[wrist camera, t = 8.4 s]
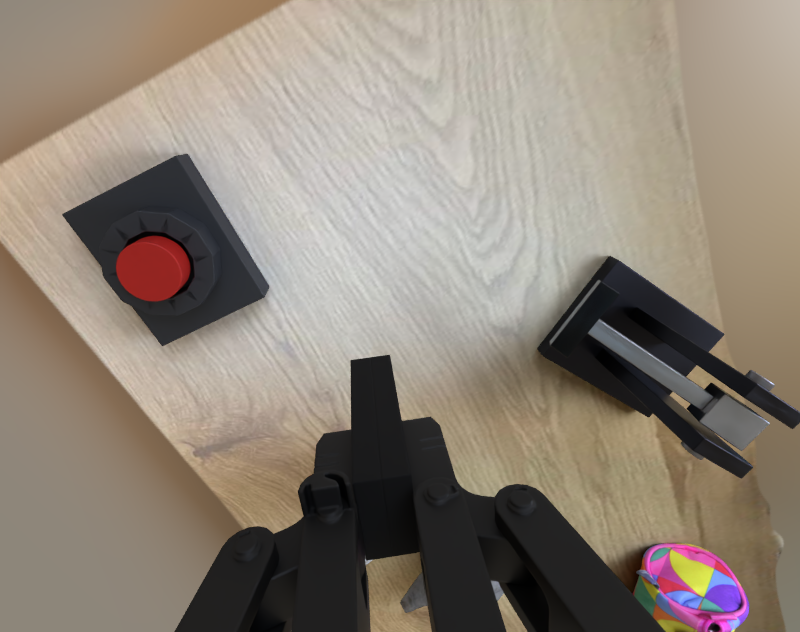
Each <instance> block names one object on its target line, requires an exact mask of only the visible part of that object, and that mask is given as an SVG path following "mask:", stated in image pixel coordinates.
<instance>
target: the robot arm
mask: <svg viewBox="0 0 800 632" xmlns="http://www.w3.org/2000/svg"><path fill="white" fill-rule="evenodd" d="M315 457H316V458H315V465H314V466H315V468H314V474H312V475H311V476H309V477H307V478H306V479H305V480H304V481H303V482H302V484H301V485H300V488H299V490H298V495H299V499H300V503H301V507H302V511H303V515H304V516H303V518H302V519H301V520H299V521H298V522H297V523H296V524H294V525H292V526H290V527H289V528H287V529H284V530H282V531H280V532H277V533H275V534H273V533H272V532H271V531H270V530H268V529H267V528H264V527H259V526H257V527H249V528H246V529H244V530H241V531H239V532H237V533H236V534H235V535H233V536H232V537H231V538H229V539H228V540H227V542H226V543H225V544H224V545H223V547H222V548H221V550H220V552H219V554H218V555H217V557H216V559H215V561H214V563H213V564H212V566H211V568H210V570H209V572H208V573H207V575H206V577H205V579H204V580H203V582H202V584H201V586H200V587H199V589H198V591H197V593H196V595H195V596H194V598H193V600H192V602H191V603H190V605H189V607H188V609H187V611H186V612H185V614H184V616H183V618H182V619H181V621H180V623H179V625H178V627H177V628H176V630H175V632H371V631H370V610H369V588H368V576H367V571H366V564H365V557H366V561H368V560H374V559H380V558H386V557H392V556H399V555H405V554H411V553H417V552H420V558H421V566H422V574H423V583H424V590H425V592H426V598H427V604H428V610H429V617H430V623H431V629H432V632H506V629H505V625H504V622H503V619H502V616H501V612H500V609H499V606H498V603H497V599H496V596H495V593H494V590H493V586H492V583H491V581H497V582H499V585H500V587H501V589H502V590H503V592H504V594H505V595H506V597H507V598H508V600H509V602H510V603H511V605H512V607H513V608H514V610H515V612H516V613H517V615H518V616H519V618H520V620H521V621H522V623H523V625H524V626H525V628H526V629H527V631H528V632H666V631H665V630H664V629H663V628H662V627H661V626H660V624H659V623H658V622H657V621H656V620H655V619H654V618H653V617H652V616H651V614H650V613H649V612H648V611H647V610H646V609H645V608H644V607H643V605H642V604H641V603H640V602H639V601H638V600H637V599H636V598H635V596H634V595H633V594H632V593H631V592H630V591H629V590H628V589H627V587H626V586H625V585H624V584H623V583H622V582H621V581H620V580H619V578H618V577H617V576H616V575H615V574H614V573H613V572H612V571H611V570H610V568H609V567H608V566H607V565H606V564H605V563H604V562H603V561H602V559H601V558H600V557H599V556H598V555H597V554H596V553H595V552H594V550H593V549H592V548H591V547H590V546H589V545H588V544H587V543H586V541H585V540H584V539H583V538H582V537H581V536H580V535H579V534H578V533H577V531H576V530H575V529H574V528H573V527H572V526H571V525H570V524H569V522H568V521H567V520H566V519H565V518H564V517H563V516H562V515H561V513H560V512H559V511H558V510H557V509H556V508H555V507H554V506H553V504H552V503H551V502H550V501H549V500H548V499H547V498H546V497H545V495H544V494H542V493H541V492H540V491H538V490H537V489H536V488H533V487H531V486H528V485H521V484H514V485H509V486H506V487H504V488H502V489H501V490H499V492H498V493H497V495H496V496H495V497H487V496H480V495H475V494H472V493H470V492H468V491H466V490H465V489H463V488H462V487H461V486H460V485H459V484H458V482H457V480H456V478H455V474H454V471H453V468H452V464H451V461H450V458H449V454H448V451H447V448H446V444H445V441H444V438H443V435H442V431H441V428H440V425H439V424H438V423H437V422H436V421H435V420H434V419H432V418H431V417H426V418H419V419H413V420H406V421H402V420H401V415H400V409H399V403H398V398H397V392H396V387H395V381H394V375H393V370H392V364H391V358H390V355H385V356H377V357H370V358H363V359H356V360H351V430H345V431H339V432H332V433H325V434H323V436H322V437H321V439H320V440H319V442H318V443H317V445H316V455H315Z"/></svg>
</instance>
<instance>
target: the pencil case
mask: <svg viewBox="0 0 800 632" xmlns="http://www.w3.org/2000/svg"><path fill="white" fill-rule="evenodd" d="M636 573H637V574H639V578H638V581H637V584H636V586H635V589H634V592H633V595H634V596H635V598H636V599H637V600H638V601H639V602H640V603H641V604H642V605H643V607H644V608H645V609H646V610H647V611H648V612H649V613H650V614H651V616H652V617H653V618H654V619H655V620H656V621H657V622H658V623H659V624H660V626H661V627H662V628H663V629H664V630H665V631H666V632H734V631H735V629H736V628H737V627H738V626H739V625H740V624H741V623H743V621H744V620H745V619H746V617H747V615H748V612H749V602H748V599H747V596H746V594H745V592H744V590H743V588H742V586H741V585H740V583H739V581H738V580H737V578H736V576H735V575H734V573H733V572H732V571H731V569H730V568H729V567H728V566H727V565H726V563H724V562H723V561H722V560H721V559H720V558H719V557H718V556H716V555H715V554H713V553H711V552H710V551H708V550H706V549H703V548H701V547H698V546H695V545H691V544H678V543H663V544H657V545H654V546H652V547H650V548H649V549H648V550H647V551H646V552H645V554H644V556H643V559H642V566H641V569H640V570H638V571H637V572H636Z"/></svg>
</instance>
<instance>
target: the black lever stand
mask: <svg viewBox="0 0 800 632" xmlns="http://www.w3.org/2000/svg"><path fill="white" fill-rule="evenodd" d="M598 280H600V281H602V282H603V283H605V284H606V285H608V286H609V287H611V288H612V289H614V290H616V291H617V292H619V295H618V296H617V298H616V299H615V300H614V301H613V303H612V304H611V305H610V306H609V308H608V309H607V310H606V311H605V312H604V314H603V315H602V316H601V317H600V319H601V320H602V321H604V322H605V323H607V324H608V325H610V326H611V327H613V328H614V329H615V330H617V331H618V332H620V333H621V334H623V335H624V336H626V337H627V338H629V339H630V340H632V341H633V342H635V343H636V344H638V345H639V346H641V347H642V348H644V349H645V350H647V351H648V352H650V353H651V354H653V355H654V356H656V357H657V358H659V359H660V360H662V361H663V362H664V363H666V364H667V365H669V366H670V367H672V368H673V369H675V370H676V371H678V372H679V373H681V374H682V375H684V376H685V377H686V376H687V375H688V374H689V373H690V372H691V371H692V370H693V369H694V367H695V366H696V365H698V366H699V367H701V368H702V369H704V370H705V371H706V372H708V373H709V374H711V375H712V376H714V377H715V378H716V379H718V380H719V381H721V382H722V383H724V384H725V385H727V386H728V387H729V388H731V389H732V390H734V391H735V392H737V393H738V394H740V395H741V396H742V397H744V398H745V399H747V400H748V401H750V402H752V403H753V404H755V405H756V406H758V407H759V408H761V409H762V410H764V411H765V412H767V413H769V414H770V415H771V416H773V417H775V418H776V419H778V420H779V421H781V422H782V423H784V424H786V425H787V426H788V427H790V428H792V429H793V428H795V427H796V426H797V425H798V424H799V423H800V412H799V411H798V410H796V409H795V408H793V407H792V406H790V405H788V404H787V403H786V402H784V401H783V400H781V399H780V398H778V397H777V396H775V395H774V394H772V393H771V392H769V391H770V390H771V389H772V388H773V387H774V386H775V385H774V384H773V383H772V382H770V381H768V380H767V379H765V378H764V377H762V376H761V375H759V374H758V373H756V372H754V371H752V370H750V371H749V372H748V373H747V374H746V375H743V374H742V373H740V372H739V371H737V370H735V369H734V368H732V367H731V366H729V365H728V364H726V363H724V362H723V361H721V360H720V359H718V358H717V357H715V356H713V355H712V354H710V353H709V351H710V350H711V349H712V348H713V347H714V345H715V344H716V343H717V342H718V341H719V340H720V339H721V338H722V337H723V336H724V333H722V332H721V331H719V330H718V329H716V328H715V327H714V326H712V325H711V324H709V323H708V322H706V321H705V320H704V319H702V318H701V317H699V316H698V315H696V314H695V313H694V312H692V311H691V310H689V309H688V308H686V307H685V306H684V305H682V304H681V303H679V302H678V301H676V300H675V299H674V298H672V297H671V296H669V295H668V294H666V293H665V292H664V291H662V290H661V289H659V288H658V287H656V286H655V285H653V284H652V283H651V282H649V281H648V280H646V279H645V278H643V277H642V276H641V275H639V274H638V273H636V272H635V271H633V270H632V269H631V268H629V267H628V266H626V265H625V264H623V263H622V262H621V261H619V260H617V259H615V258H613V257H611V256H609V257H608V259H607V260H606V261H605V263H604V264H603V265H602V266H601V268H600V269H599V270H598V272H597V273H596V274H595V275H594V277H593V278H592V279H591V280H590V282H589V283H588V284H587V286H586V287H585V288H584V289H583V291H582V292H581V293H580V295H579V296H578V297H577V298H576V300H575V301H574V302H573V304H572V305H571V306H570V307H569V309H568V310H567V311H566V312H565V314H564V315H563V316H562V318H561V319H560V320H559V321H558V323H557V324H556V325H555V327H554V328H553V329H552V330H551V332H550V333H549V334H548V335H547V337H546V338H545V339H544V341H543V342H542V343H541V344H540V346H539V347H538V348H537V349H538V351H539V352H540V353H541V354H542V355H543V356H544V357H545V358H547V359H549V360H550V361H552V362H554V363H556V364H557V365H559V366H561V367H563V368H564V369H566V370H568V371H569V372H571V373H573V374H575V375H576V376H578V377H580V378H581V379H583V380H585V381H587V382H588V383H590V384H592V385H594V386H595V387H597V388H599V389H600V390H602V391H604V392H606V393H607V394H609V395H611V396H612V397H614V398H616V399H618V400H619V401H621V402H623V403H625V404H626V405H628V406H630V407H631V408H633V409H635V410H637V411H638V412H640V413H642V414H643V415H645V416H647V417H650V416H651V415H652V414H654V415H656V416H657V417H658V418H659V419H660V420H661V421H662V422H663V423H664V424H665V425H666V426H667V427H668V428H669V429H670V430H671V431H672V432H673V433H674V434H675V435H677V436H678V437H679V438H680V439H681V440H682V442H681V445H682V446H683V447H684V448H685V449H686V450H687V451H688V452H689V453H691V454H692V455H693V456H695V457H696V458H698V459H700V460H702V459H703V458H706V459H708V460H710V461H711V462H713V463H715V464H717V465H718V466H720V467H722V468H724V469H725V470H727V471H729V472H730V473H732V474H734V475H736V476H737V477H739V478H743V477H744V476H745V475H746V474H747V473H748V472H749V471H750V470H751V469H752V468H753V466H752V465H751V464H750V463H748V462H747V461H746V460H745V459H744V458H743V457H741V456H740V455H739V454H738V453H737V452H735V451H734V450H733V449H732V448H731V447H730V446H728V445H727V444H726V443H725V442H724V441H722V440H721V439H720V438H719V437H718V436H717V435H715V434H714V433H713V432H712V431H711V430H710V429H708V428H707V427H706V426H704V425H703V424H701V423H700V422H699V421H698V420H697V419H696V418H695V417H694V416H693V415H692V414H691V413H690V412H688V411H687V410H686V409H685V408H684V407H682V406H681V405H680V404H679V403H678V402H677V401H675V400H674V399H673V398H672V397H671V396H669V395H670V394H671V393H672V392H673V391H671V390H670V389H669V388H667V387H666V386H664V385H663V384H661V383H660V382H658V381H657V380H655V379H654V378H652V377H651V376H649V375H648V374H647V373H645V372H644V371H642V370H641V369H639V368H638V367H636V366H635V365H633V364H632V363H630V362H629V361H627V360H626V359H624V358H623V357H622V356H620V355H619V354H617V353H616V352H614V351H613V350H611V349H610V348H608V347H607V346H605V345H604V344H602V343H601V342H600V341H598V340H597V339H595V338H594V337H592V336H591V335H589V334H588V333H587V335H586V336H585V337H584V338H583V340H582V341H581V342H580V343H579V345H578V346H577V347H576V348H575V350H574V351H573V352H572V353H571V354H570V356H569V357H568V358H567V357H565V356H564V355H563V354H561V353H560V352H558V351H557V350H555V349H554V348H553V347H551V346H550V340H551V339H552V338H553V337H554V335H555V334H556V333H557V332H558V330H559V329H560V328H561V326H562V325H563V324H564V323H565V321H566V320H567V319H568V318H569V316H570V315H571V314H572V312H573V311H574V310H575V309H576V307H577V306H578V305H579V304H580V302H581V301H582V300H583V298H584V297H585V296H586V295H587V293H588V292H589V291H590V290H591V288H592V287H593V286H594V284H595V283H596V282H597V281H598Z"/></svg>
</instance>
